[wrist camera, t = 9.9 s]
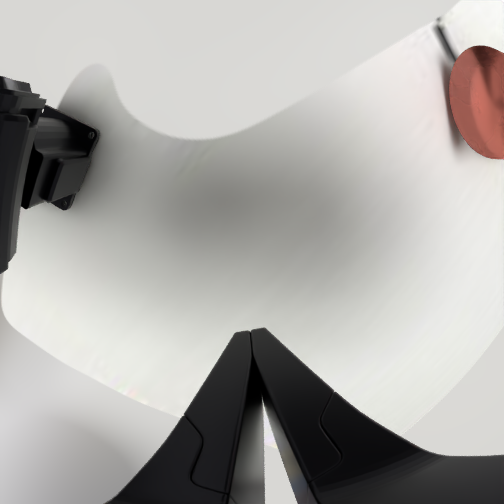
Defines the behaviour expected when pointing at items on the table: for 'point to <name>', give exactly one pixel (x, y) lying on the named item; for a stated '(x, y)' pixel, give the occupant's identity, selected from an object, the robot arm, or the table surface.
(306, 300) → the table surface
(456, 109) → the copper disc handle
